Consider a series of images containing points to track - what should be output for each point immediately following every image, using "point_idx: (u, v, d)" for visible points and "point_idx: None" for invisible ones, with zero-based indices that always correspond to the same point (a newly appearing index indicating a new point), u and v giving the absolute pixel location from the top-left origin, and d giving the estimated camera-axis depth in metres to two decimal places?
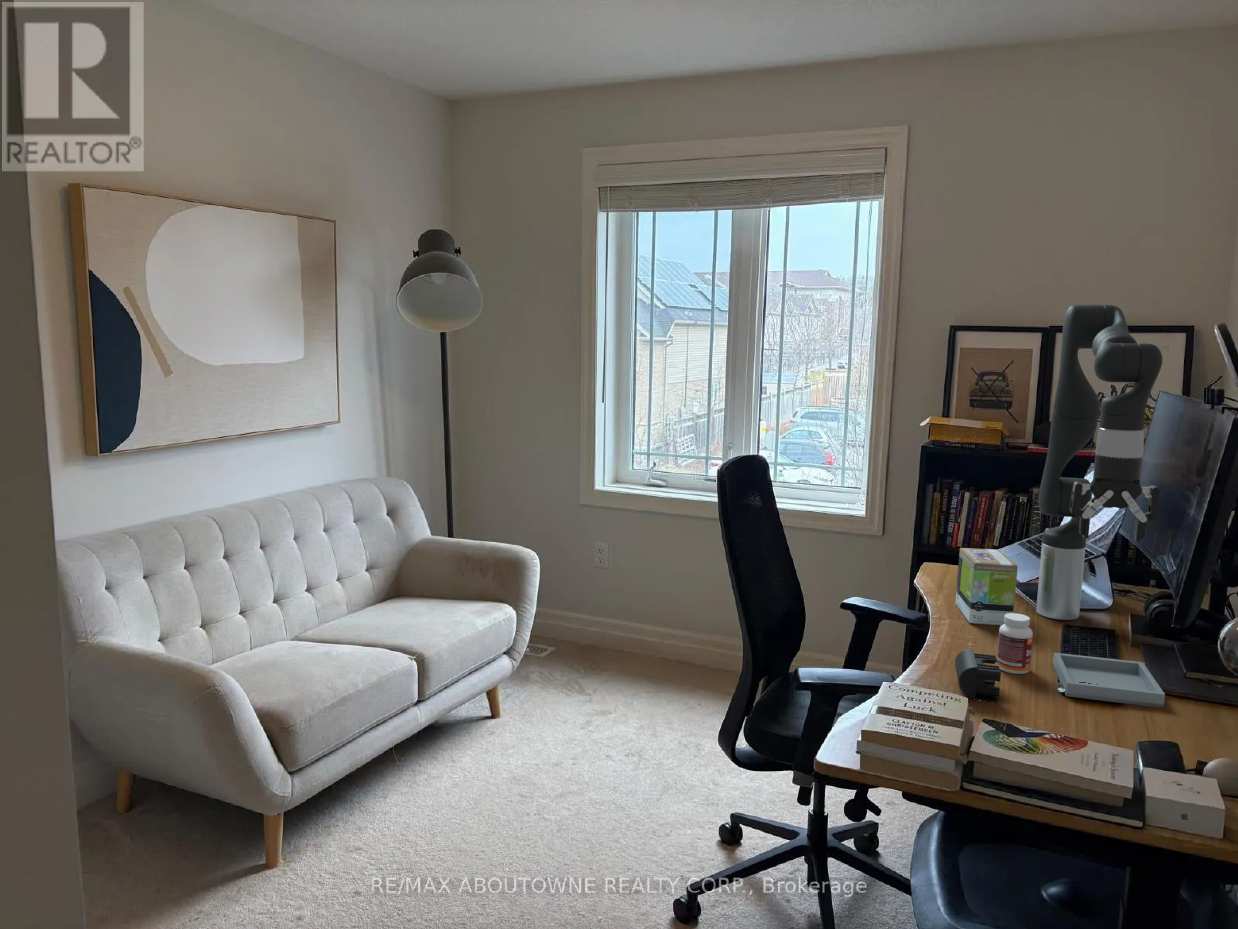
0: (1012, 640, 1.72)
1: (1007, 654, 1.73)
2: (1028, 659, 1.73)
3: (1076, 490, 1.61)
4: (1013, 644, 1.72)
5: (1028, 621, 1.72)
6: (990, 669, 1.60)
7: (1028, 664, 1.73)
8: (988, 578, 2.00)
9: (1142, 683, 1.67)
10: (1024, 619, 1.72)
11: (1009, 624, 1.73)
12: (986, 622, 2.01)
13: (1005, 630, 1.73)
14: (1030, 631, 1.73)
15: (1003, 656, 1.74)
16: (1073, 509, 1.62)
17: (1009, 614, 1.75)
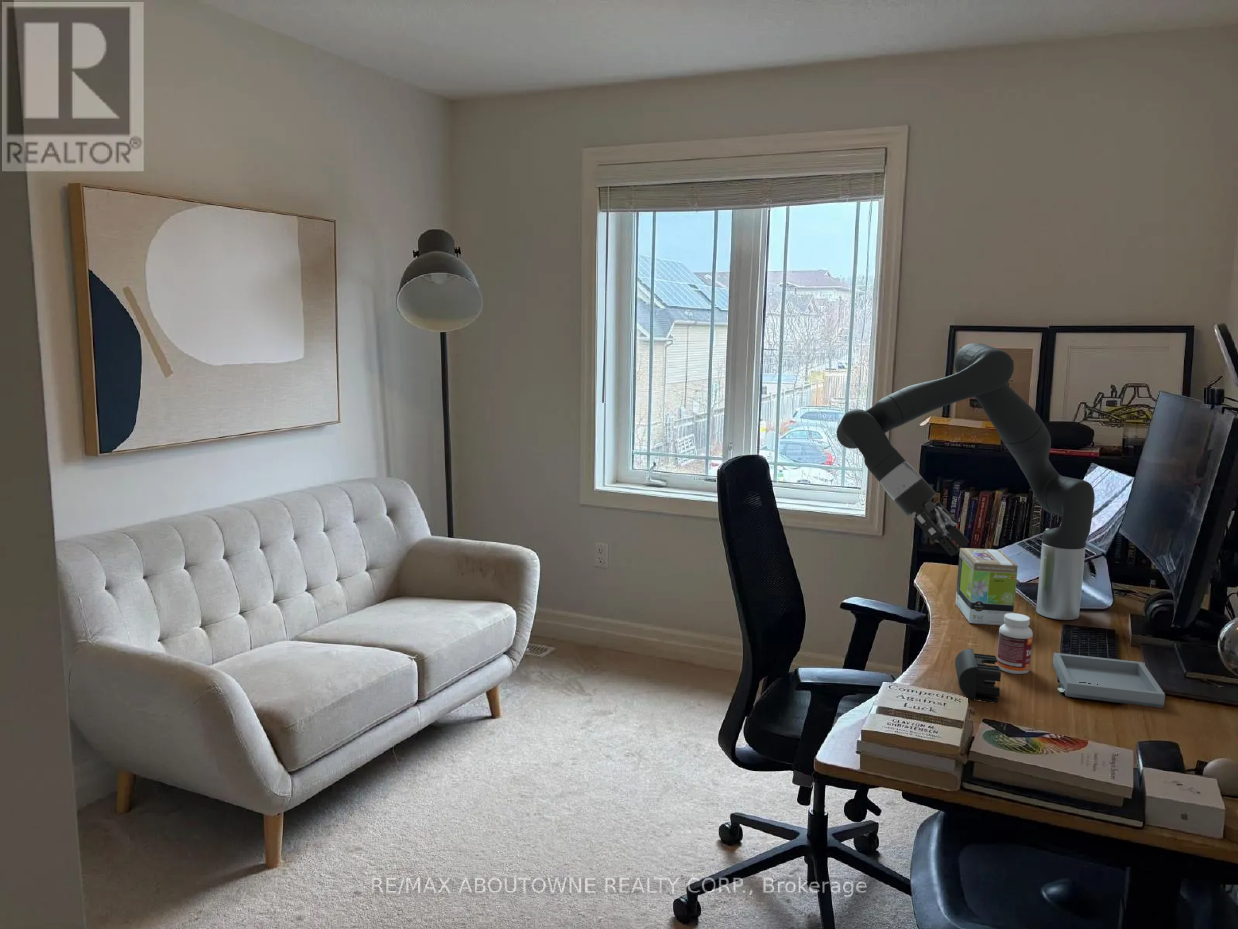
0: (1012, 640, 1.72)
1: (1007, 654, 1.73)
2: (1028, 659, 1.73)
3: None
4: (1013, 644, 1.72)
5: (1028, 621, 1.72)
6: (990, 669, 1.60)
7: (1028, 664, 1.73)
8: (988, 578, 2.00)
9: (1142, 683, 1.67)
10: (1024, 619, 1.72)
11: (1009, 624, 1.73)
12: (986, 622, 2.01)
13: (1005, 630, 1.73)
14: (1030, 631, 1.73)
15: (1003, 656, 1.74)
16: None
17: (1009, 614, 1.75)
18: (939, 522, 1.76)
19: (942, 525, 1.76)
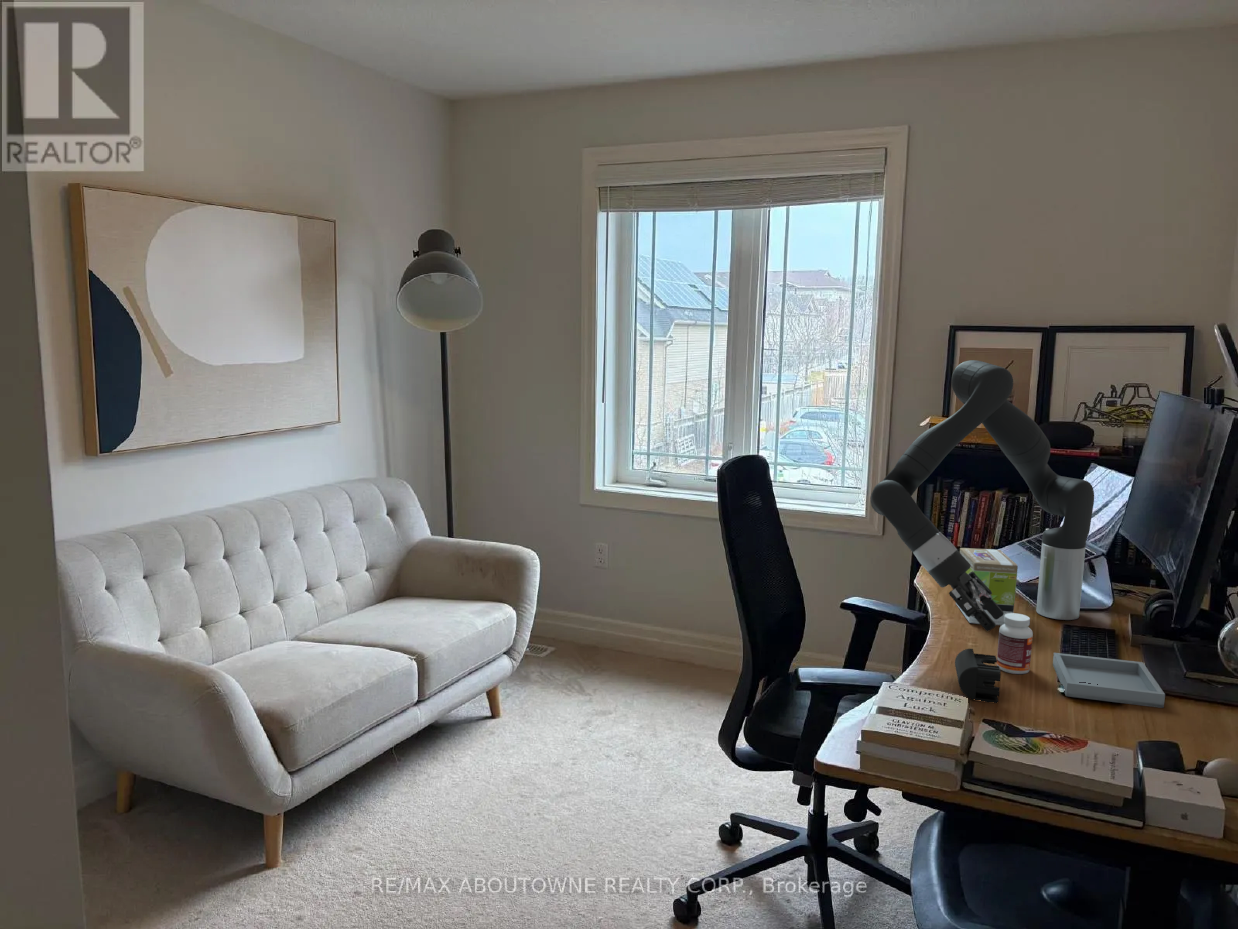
0: (1012, 640, 1.72)
1: (1007, 654, 1.73)
2: (1028, 659, 1.73)
3: None
4: (1013, 644, 1.72)
5: (1028, 621, 1.72)
6: (990, 669, 1.60)
7: (1028, 664, 1.73)
8: (989, 578, 2.00)
9: (1142, 683, 1.67)
10: (1024, 619, 1.72)
11: (1009, 624, 1.73)
12: None
13: (1005, 630, 1.73)
14: (1030, 631, 1.73)
15: (1003, 656, 1.74)
16: None
17: (1009, 614, 1.75)
18: (974, 596, 1.74)
19: (978, 599, 1.74)
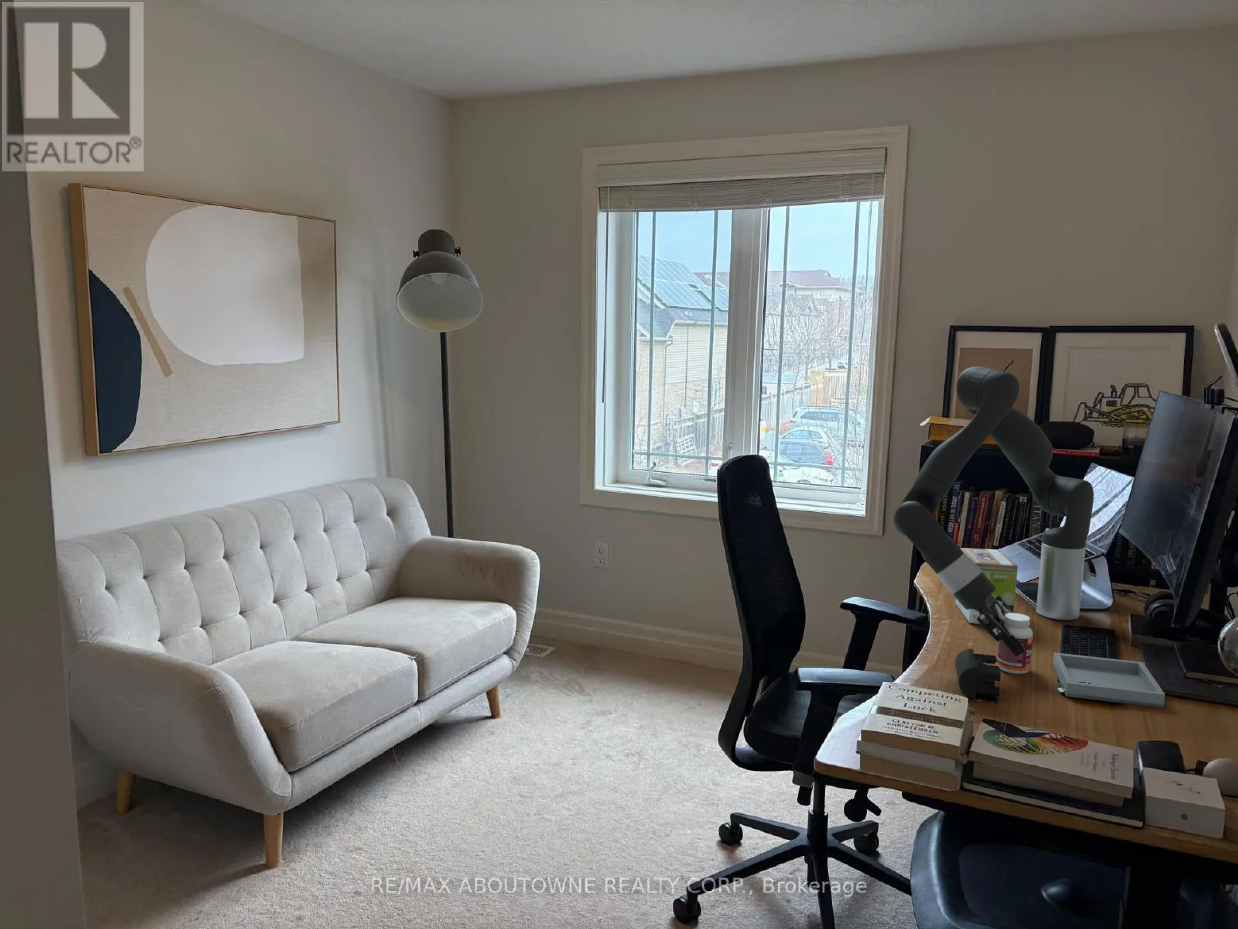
0: None
1: (1007, 653, 1.73)
2: (1028, 659, 1.73)
3: None
4: None
5: (1028, 621, 1.72)
6: (990, 669, 1.60)
7: (1028, 664, 1.73)
8: (989, 578, 2.00)
9: (1142, 683, 1.67)
10: (1024, 619, 1.72)
11: (1009, 624, 1.73)
12: None
13: None
14: (1030, 631, 1.73)
15: (1003, 656, 1.74)
16: None
17: (1009, 614, 1.75)
18: (1002, 620, 1.72)
19: (1006, 623, 1.72)
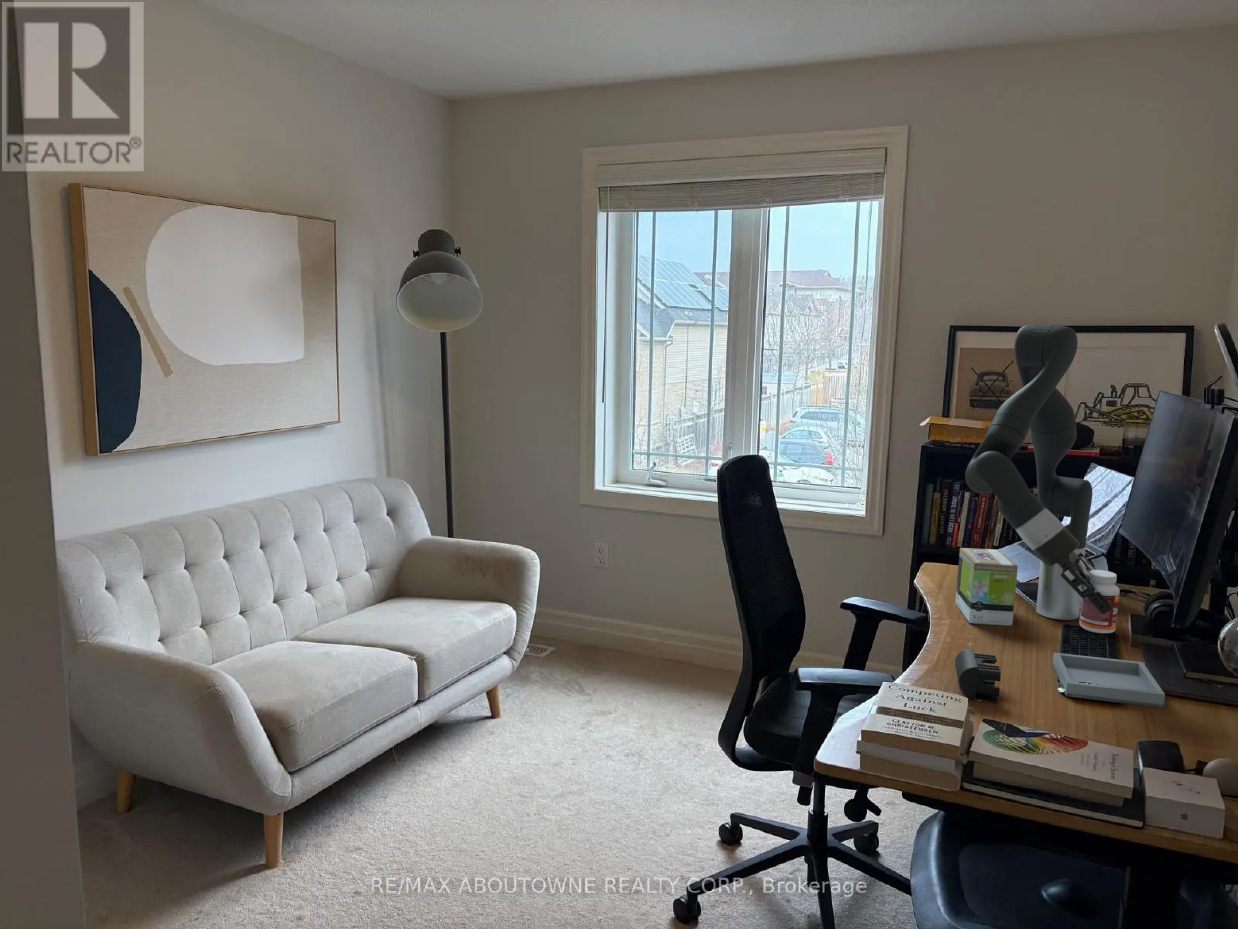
0: None
1: (1092, 612, 1.65)
2: (1115, 617, 1.64)
3: None
4: None
5: (1115, 577, 1.64)
6: (990, 669, 1.60)
7: (1114, 623, 1.64)
8: (989, 578, 2.00)
9: (1142, 683, 1.67)
10: (1111, 575, 1.64)
11: (1095, 581, 1.65)
12: (986, 622, 2.01)
13: None
14: (1117, 588, 1.64)
15: (1088, 615, 1.65)
16: None
17: (1094, 571, 1.67)
18: (1088, 577, 1.64)
19: (1091, 580, 1.64)
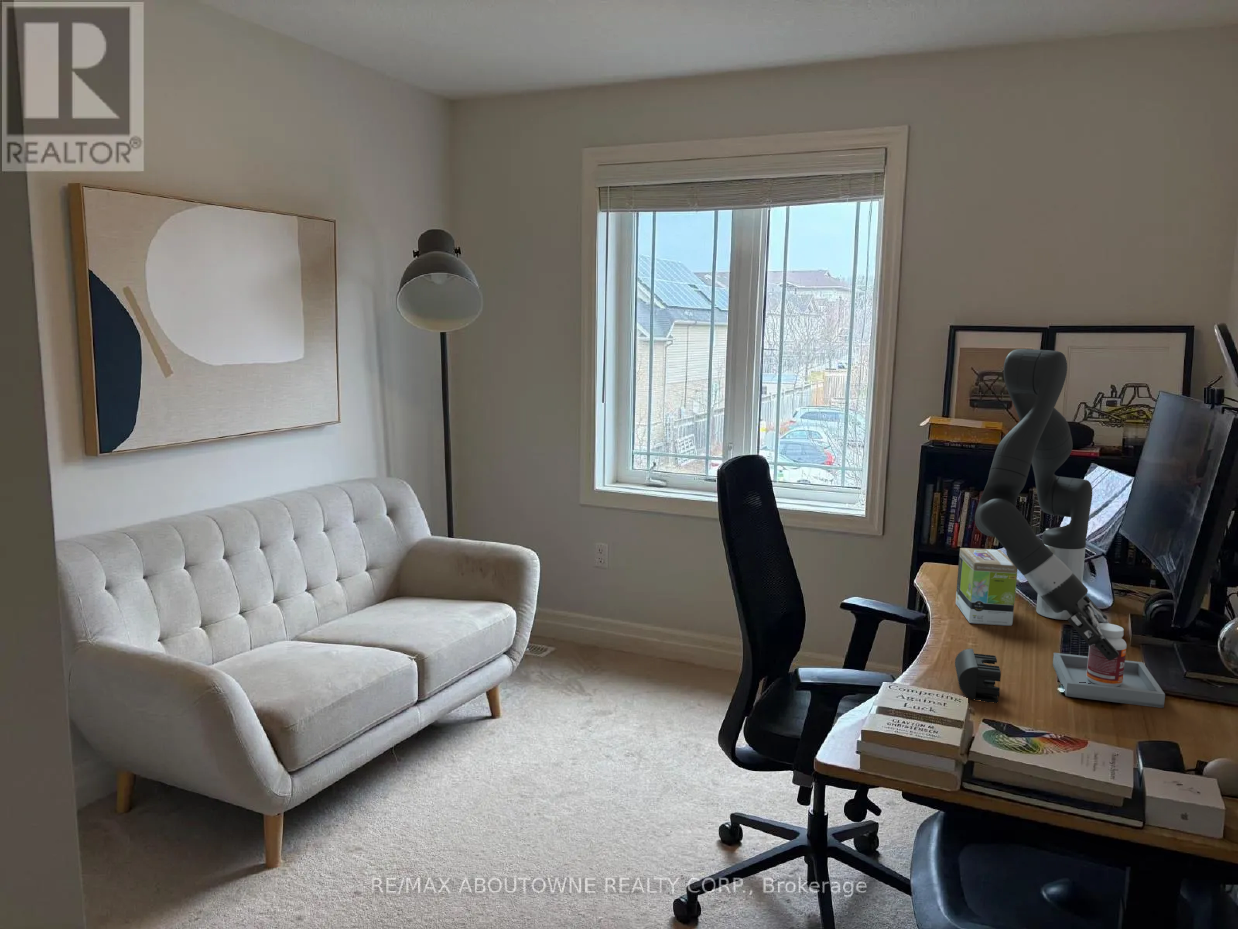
0: None
1: (1099, 665, 1.65)
2: (1121, 671, 1.65)
3: None
4: None
5: (1122, 632, 1.65)
6: (990, 669, 1.60)
7: (1121, 677, 1.65)
8: (989, 578, 2.00)
9: (1142, 683, 1.67)
10: (1118, 630, 1.65)
11: None
12: (986, 622, 2.01)
13: None
14: (1124, 642, 1.65)
15: (1095, 668, 1.66)
16: None
17: (1101, 624, 1.68)
18: (1095, 623, 1.64)
19: (1098, 626, 1.64)
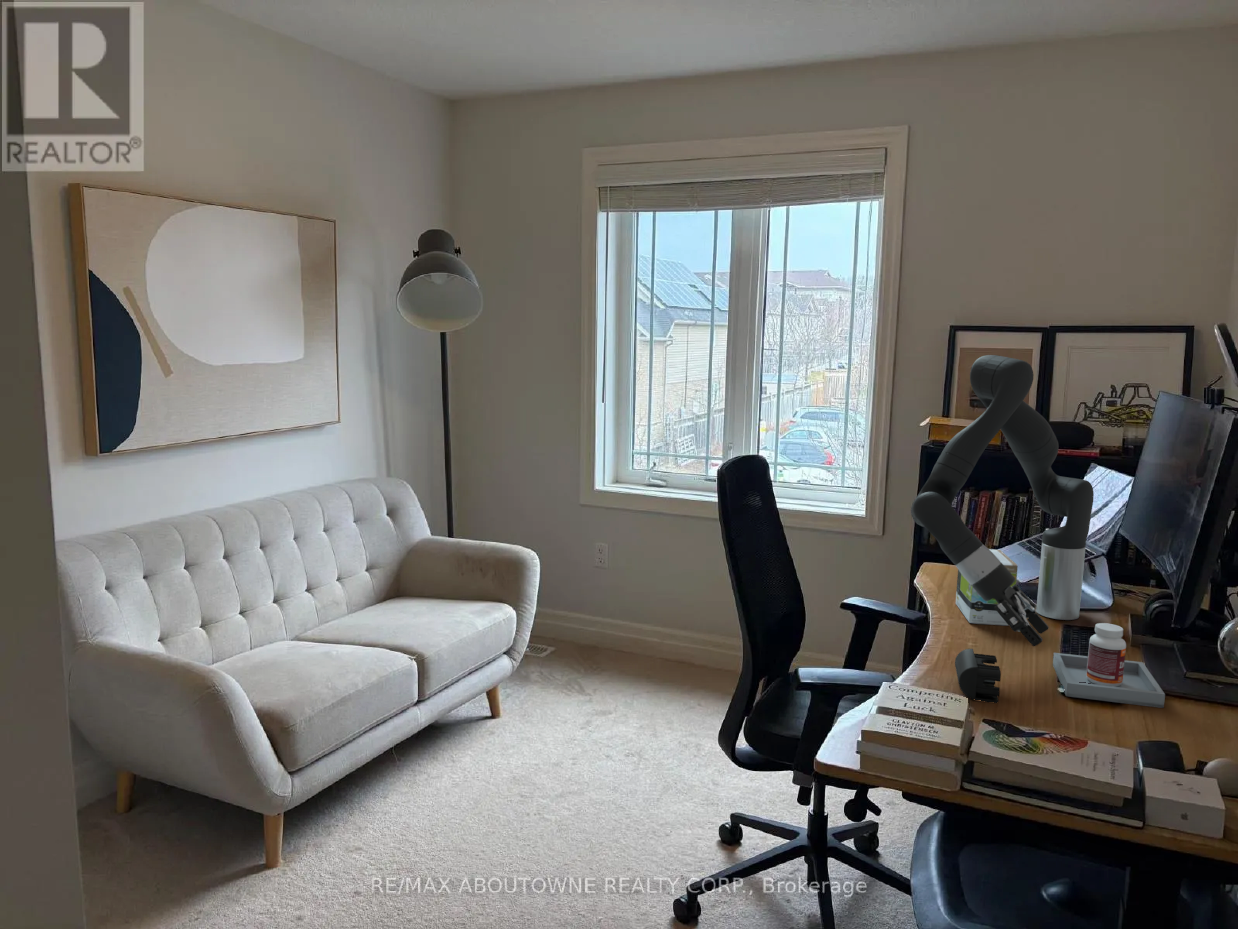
0: (1105, 651, 1.64)
1: (1099, 665, 1.65)
2: (1121, 671, 1.65)
3: None
4: (1105, 656, 1.65)
5: (1121, 632, 1.65)
6: (990, 669, 1.60)
7: (1121, 677, 1.65)
8: None
9: (1142, 683, 1.67)
10: (1117, 629, 1.65)
11: (1101, 634, 1.66)
12: (986, 622, 2.01)
13: (1096, 640, 1.66)
14: (1124, 642, 1.65)
15: (1094, 668, 1.66)
16: None
17: (1100, 624, 1.68)
18: (1020, 611, 1.71)
19: (1024, 614, 1.71)
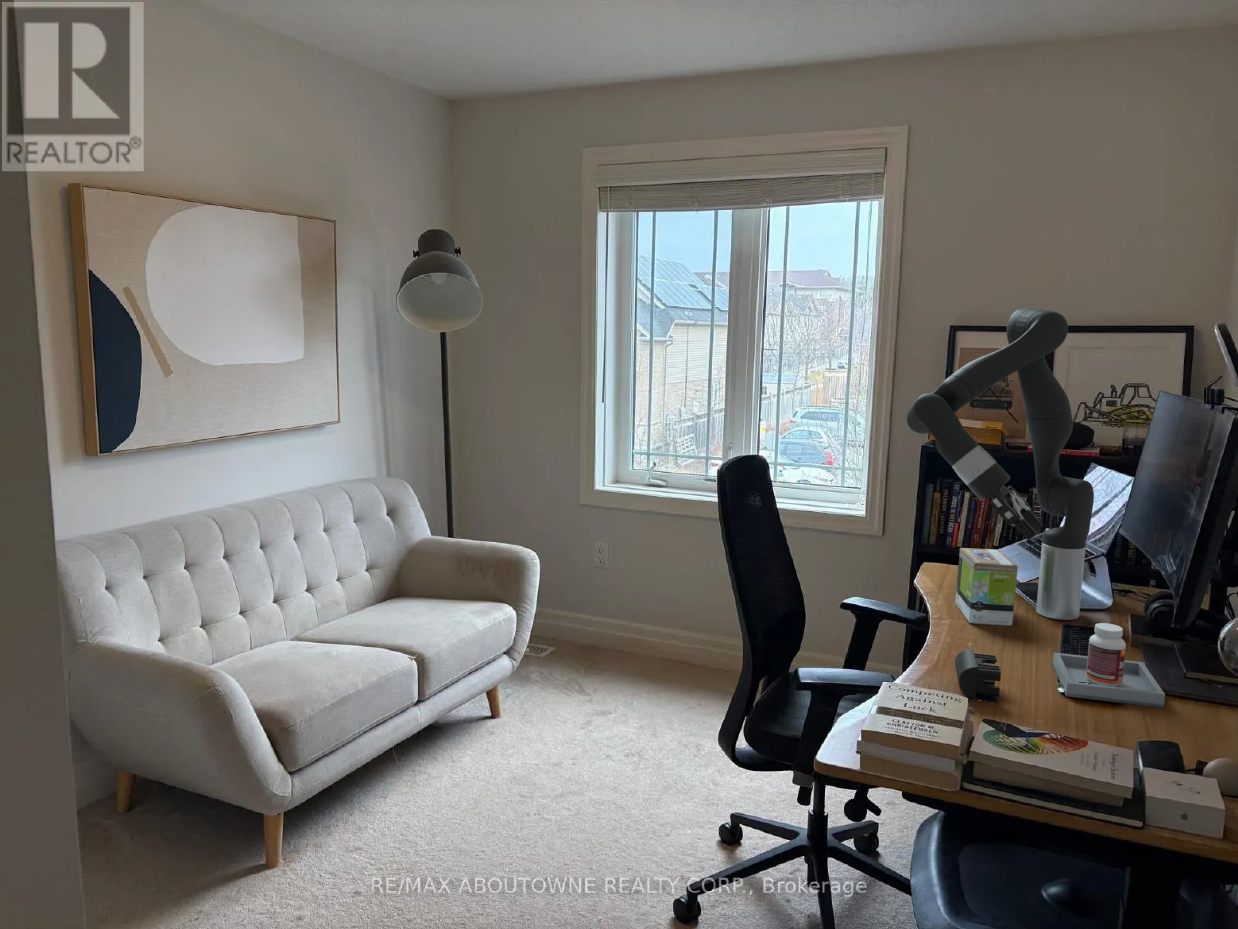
0: (1105, 651, 1.64)
1: (1099, 665, 1.65)
2: (1121, 671, 1.65)
3: None
4: (1105, 656, 1.65)
5: (1121, 632, 1.65)
6: (990, 669, 1.60)
7: (1121, 677, 1.65)
8: (989, 578, 2.00)
9: (1142, 683, 1.67)
10: (1117, 629, 1.65)
11: (1101, 635, 1.66)
12: (986, 622, 2.01)
13: (1096, 640, 1.66)
14: (1123, 642, 1.65)
15: (1094, 668, 1.66)
16: None
17: (1100, 624, 1.68)
18: (1015, 506, 1.75)
19: (1018, 509, 1.75)
